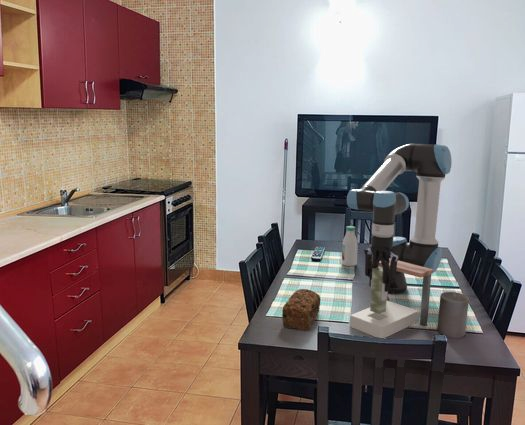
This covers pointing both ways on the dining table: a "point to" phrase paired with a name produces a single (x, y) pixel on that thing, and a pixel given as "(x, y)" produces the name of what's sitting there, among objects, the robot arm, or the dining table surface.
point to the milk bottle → (349, 247)
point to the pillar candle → (452, 314)
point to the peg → (377, 291)
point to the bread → (301, 309)
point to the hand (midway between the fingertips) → (378, 297)
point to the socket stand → (395, 308)
